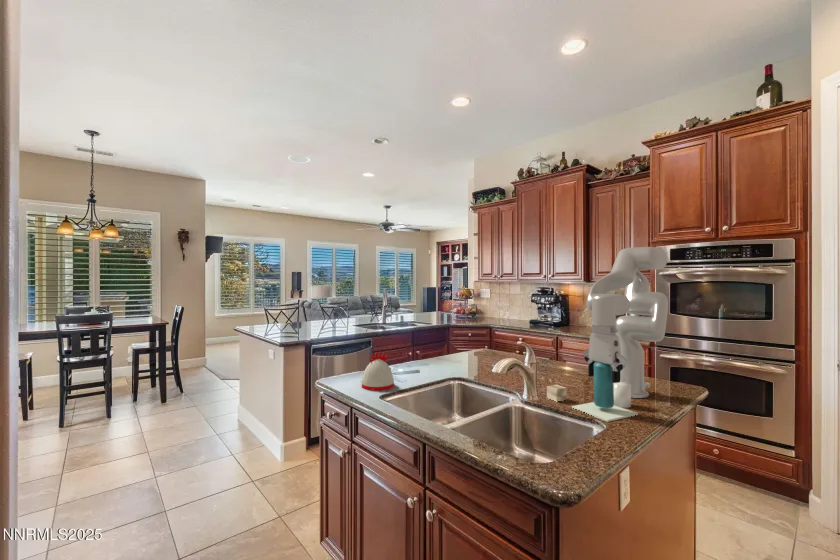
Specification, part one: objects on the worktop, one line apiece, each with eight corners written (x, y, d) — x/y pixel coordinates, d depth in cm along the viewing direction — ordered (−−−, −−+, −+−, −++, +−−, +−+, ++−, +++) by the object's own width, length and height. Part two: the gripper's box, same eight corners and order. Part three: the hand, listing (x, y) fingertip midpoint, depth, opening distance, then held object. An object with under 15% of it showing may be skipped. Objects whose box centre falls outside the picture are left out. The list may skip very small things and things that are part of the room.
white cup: (619, 401, 145) (619, 380, 145) (634, 406, 140) (634, 384, 140) (609, 403, 143) (609, 382, 143) (623, 408, 137) (623, 386, 137)
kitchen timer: (396, 389, 161) (396, 353, 161) (363, 391, 157) (363, 355, 158) (391, 381, 174) (391, 348, 174) (360, 383, 171) (360, 349, 171)
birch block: (556, 397, 151) (556, 384, 151) (566, 400, 146) (566, 387, 146) (546, 399, 149) (546, 386, 149) (556, 402, 144) (556, 389, 144)
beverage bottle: (616, 413, 131) (616, 354, 131) (595, 411, 132) (595, 353, 132) (610, 407, 137) (610, 351, 137) (591, 405, 138) (590, 350, 139)
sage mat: (600, 402, 144) (600, 400, 144) (638, 415, 131) (638, 413, 131) (571, 407, 138) (571, 406, 138) (607, 421, 124) (607, 420, 124)
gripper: (634, 332, 128) (633, 384, 128) (590, 327, 144) (590, 372, 144) (618, 334, 125) (618, 386, 125) (576, 328, 141) (576, 374, 141)
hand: (603, 379), depth 134 cm, fingers open, 9 cm apart
